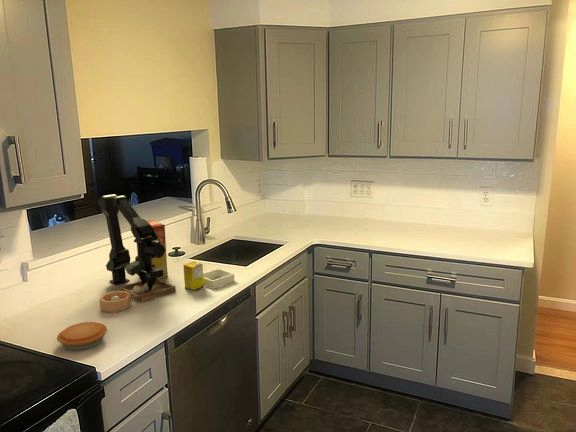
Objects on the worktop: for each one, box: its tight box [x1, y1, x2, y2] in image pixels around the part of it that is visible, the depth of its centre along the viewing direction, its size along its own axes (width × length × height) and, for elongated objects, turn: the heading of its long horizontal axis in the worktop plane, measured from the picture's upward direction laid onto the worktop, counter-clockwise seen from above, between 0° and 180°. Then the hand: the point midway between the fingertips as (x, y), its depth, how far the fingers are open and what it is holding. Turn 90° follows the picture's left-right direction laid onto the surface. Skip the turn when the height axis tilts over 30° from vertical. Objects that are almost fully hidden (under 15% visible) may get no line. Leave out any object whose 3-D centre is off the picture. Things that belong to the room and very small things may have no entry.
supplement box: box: [182, 261, 205, 292], centre depth 205 cm, size 6×6×11 cm
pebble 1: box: [111, 296, 120, 301], centre depth 187 cm, size 4×4×4 cm
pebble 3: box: [143, 283, 150, 291], centre depth 202 cm, size 4×4×4 cm
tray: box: [119, 278, 176, 304], centre depth 202 cm, size 17×16×2 cm
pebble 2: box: [133, 286, 142, 294], centre depth 198 cm, size 4×4×4 cm
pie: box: [56, 321, 108, 351], centre depth 159 cm, size 16×16×5 cm
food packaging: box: [146, 219, 169, 280], centre depth 220 cm, size 13×9×25 cm
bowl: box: [98, 290, 133, 313], centre depth 187 cm, size 11×11×4 cm
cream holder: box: [203, 268, 236, 290], centre depth 213 cm, size 12×13×4 cm
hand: (147, 288), depth 202 cm, fingers closed on pebble 3, 4 cm apart
